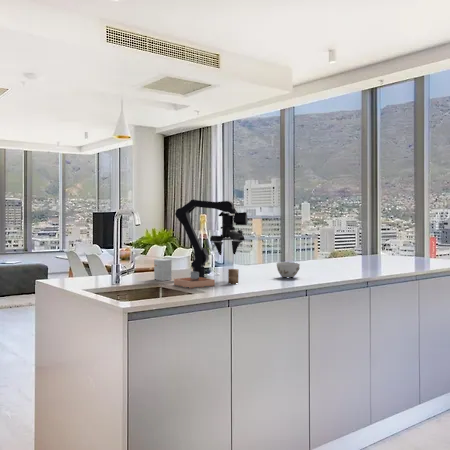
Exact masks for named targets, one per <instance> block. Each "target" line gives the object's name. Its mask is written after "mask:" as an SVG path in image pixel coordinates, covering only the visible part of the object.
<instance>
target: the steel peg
mask: <svg viewBox="0 0 450 450" xmlns="http://www.w3.org/2000/svg"><path fill="white" fill-rule="evenodd" d="M190 277H191V280H190V282H193V281H199V272H197V271H193V270H192V271H190Z"/></svg>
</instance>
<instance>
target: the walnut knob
mask: <svg viewBox="0 0 450 450" xmlns="http://www.w3.org/2000/svg"><path fill="white" fill-rule="evenodd" d="M227 272H228V273H227V274H228V278H227V279H228V283H231V284H230V285H237V284H236V283H238V284H239V269H238V268H229V269H228V271H227Z"/></svg>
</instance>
